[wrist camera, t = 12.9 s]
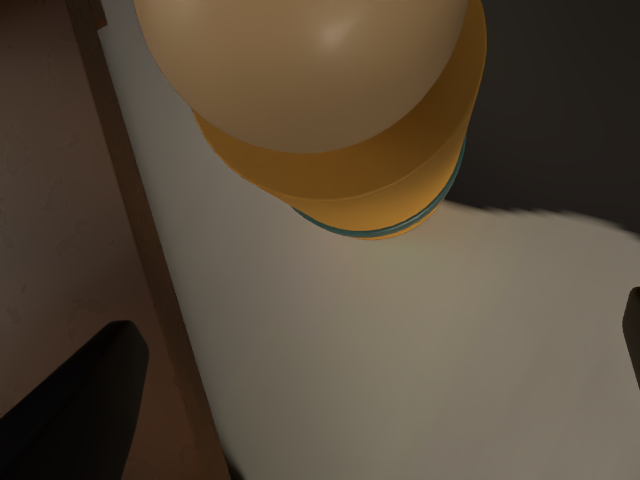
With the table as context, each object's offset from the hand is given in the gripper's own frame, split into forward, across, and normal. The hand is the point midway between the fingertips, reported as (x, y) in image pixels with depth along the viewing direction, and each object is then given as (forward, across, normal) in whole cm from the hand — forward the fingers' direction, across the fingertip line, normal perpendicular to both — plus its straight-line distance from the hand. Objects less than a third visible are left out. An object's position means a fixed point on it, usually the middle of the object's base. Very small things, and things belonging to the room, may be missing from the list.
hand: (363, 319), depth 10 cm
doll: (+8, 0, +1) cm, 8 cm away
